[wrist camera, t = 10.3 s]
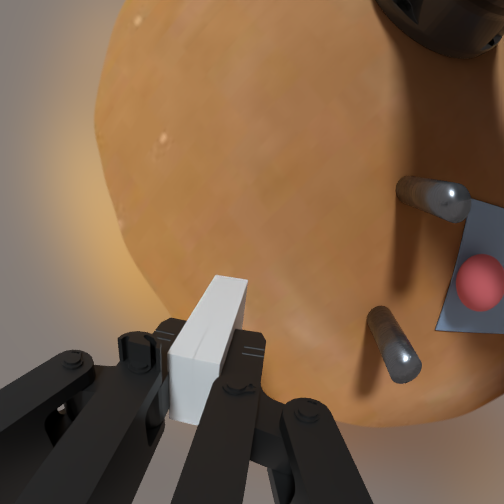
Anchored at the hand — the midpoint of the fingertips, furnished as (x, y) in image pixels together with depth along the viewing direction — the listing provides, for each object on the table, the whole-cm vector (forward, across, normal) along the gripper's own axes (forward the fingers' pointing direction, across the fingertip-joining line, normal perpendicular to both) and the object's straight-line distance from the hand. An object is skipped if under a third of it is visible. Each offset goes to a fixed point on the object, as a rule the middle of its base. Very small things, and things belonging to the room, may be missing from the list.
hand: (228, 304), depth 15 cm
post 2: (+14, +13, +6) cm, 20 cm away
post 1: (+14, +13, -6) cm, 20 cm away
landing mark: (+14, +27, 0) cm, 31 cm away
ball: (+12, +22, 0) cm, 25 cm away
